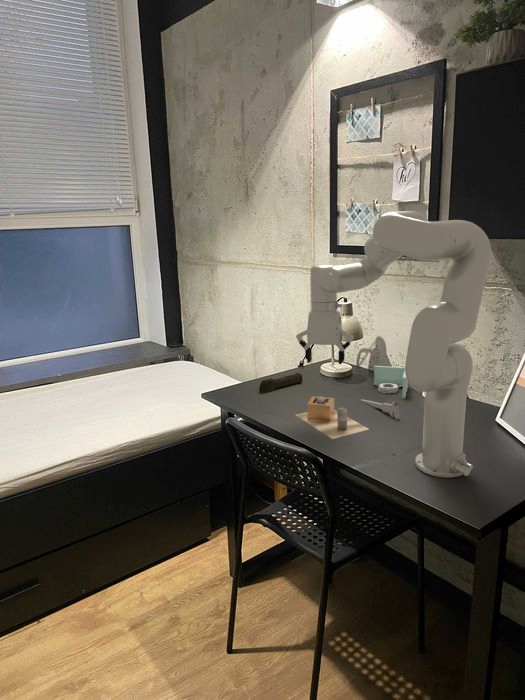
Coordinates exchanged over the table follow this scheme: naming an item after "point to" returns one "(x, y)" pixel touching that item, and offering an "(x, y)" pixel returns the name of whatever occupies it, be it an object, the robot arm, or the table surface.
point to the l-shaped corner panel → (390, 379)
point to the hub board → (334, 423)
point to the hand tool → (279, 382)
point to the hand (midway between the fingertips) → (324, 362)
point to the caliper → (385, 407)
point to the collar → (320, 409)
